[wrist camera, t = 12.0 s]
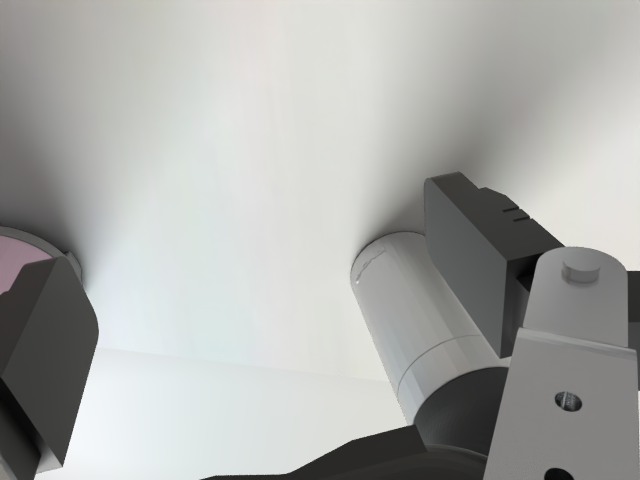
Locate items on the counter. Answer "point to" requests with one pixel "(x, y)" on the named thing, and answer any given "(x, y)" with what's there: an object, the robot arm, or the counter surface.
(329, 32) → the counter surface
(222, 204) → the counter surface
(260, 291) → the counter surface
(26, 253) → the blender
